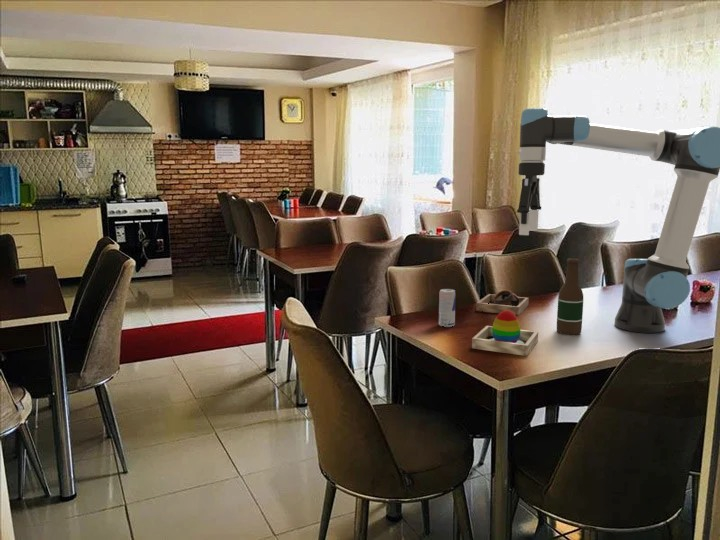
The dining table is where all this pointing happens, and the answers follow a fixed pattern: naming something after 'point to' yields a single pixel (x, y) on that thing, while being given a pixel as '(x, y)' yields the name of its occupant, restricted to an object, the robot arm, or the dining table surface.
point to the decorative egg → (506, 327)
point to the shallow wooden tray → (505, 347)
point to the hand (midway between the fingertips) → (528, 232)
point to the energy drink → (447, 307)
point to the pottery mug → (506, 298)
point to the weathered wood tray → (496, 308)
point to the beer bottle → (570, 302)
